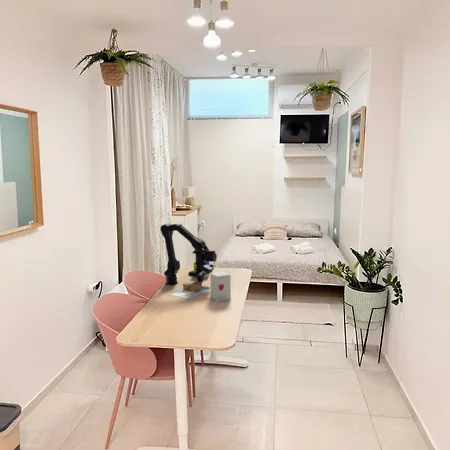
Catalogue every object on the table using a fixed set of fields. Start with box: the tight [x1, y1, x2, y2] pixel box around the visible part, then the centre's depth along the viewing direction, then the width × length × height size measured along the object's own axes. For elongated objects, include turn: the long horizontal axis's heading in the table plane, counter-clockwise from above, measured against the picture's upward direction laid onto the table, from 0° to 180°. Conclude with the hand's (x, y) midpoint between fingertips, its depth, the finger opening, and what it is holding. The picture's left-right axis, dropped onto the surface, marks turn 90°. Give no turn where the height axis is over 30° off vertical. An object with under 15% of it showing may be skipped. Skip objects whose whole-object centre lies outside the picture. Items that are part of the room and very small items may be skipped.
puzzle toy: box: [193, 259, 210, 279], centre depth 302 cm, size 10×10×10 cm
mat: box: [166, 287, 211, 300], centre depth 265 cm, size 18×22×1 cm
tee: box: [182, 280, 203, 293], centre depth 270 cm, size 10×10×4 cm
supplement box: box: [209, 271, 232, 303], centre depth 250 cm, size 9×9×15 cm
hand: (200, 284), depth 276 cm, fingers closed
